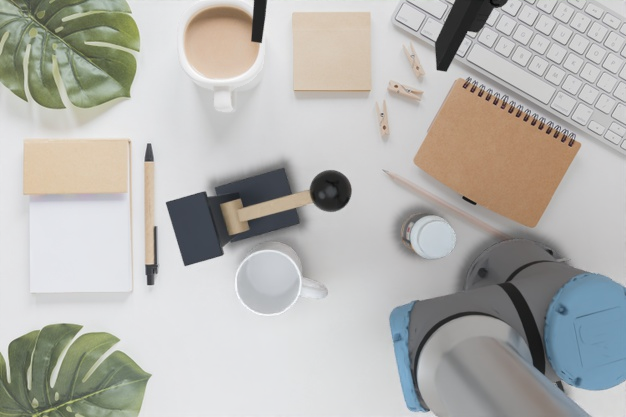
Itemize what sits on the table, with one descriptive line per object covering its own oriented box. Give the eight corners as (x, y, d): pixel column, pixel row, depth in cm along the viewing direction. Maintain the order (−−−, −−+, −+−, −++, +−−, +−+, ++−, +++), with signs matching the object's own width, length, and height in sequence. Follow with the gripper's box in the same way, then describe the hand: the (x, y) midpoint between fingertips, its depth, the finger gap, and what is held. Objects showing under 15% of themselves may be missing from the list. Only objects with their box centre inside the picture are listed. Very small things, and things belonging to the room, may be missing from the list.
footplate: (284, 167, 77) (284, 167, 75) (300, 222, 77) (299, 223, 76) (215, 187, 77) (214, 187, 75) (231, 242, 77) (230, 243, 76)
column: (239, 187, 75) (204, 191, 49) (251, 229, 76) (222, 255, 49) (214, 195, 75) (165, 202, 49) (226, 236, 76) (184, 266, 49)
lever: (351, 163, 47) (336, 167, 44) (362, 203, 48) (348, 209, 44) (230, 198, 53) (209, 203, 50) (241, 233, 53) (220, 241, 50)
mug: (334, 258, 77) (339, 270, 67) (316, 313, 78) (318, 334, 67) (254, 232, 77) (246, 240, 67) (236, 288, 77) (225, 304, 67)
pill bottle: (397, 249, 77) (410, 258, 68) (404, 209, 77) (418, 213, 67) (436, 255, 78) (455, 266, 68) (443, 215, 77) (464, 220, 67)
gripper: (723, -320, 25) (507, 33, 43) (161, -458, 22) (187, -20, 40) (782, -241, 21) (519, 107, 39) (118, -395, 18) (168, 55, 37)
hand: (350, 43), depth 40 cm, fingers open, 13 cm apart
